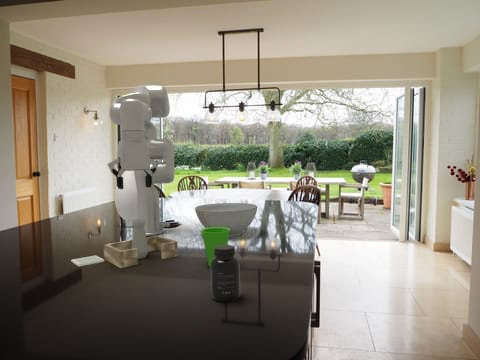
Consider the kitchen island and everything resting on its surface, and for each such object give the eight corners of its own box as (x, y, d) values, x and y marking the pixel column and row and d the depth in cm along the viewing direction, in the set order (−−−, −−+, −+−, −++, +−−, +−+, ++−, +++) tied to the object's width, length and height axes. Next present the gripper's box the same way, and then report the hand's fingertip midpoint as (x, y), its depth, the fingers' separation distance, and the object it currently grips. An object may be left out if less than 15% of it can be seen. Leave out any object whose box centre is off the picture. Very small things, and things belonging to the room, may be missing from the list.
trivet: (95, 257, 128) (95, 255, 128) (104, 261, 122) (104, 259, 122) (71, 261, 123) (71, 259, 123) (78, 266, 117) (78, 264, 117)
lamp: (139, 221, 200) (136, 156, 198) (154, 225, 188) (152, 155, 186) (110, 226, 189) (107, 156, 187) (124, 229, 178) (121, 155, 176)
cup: (235, 262, 118) (234, 227, 117) (224, 270, 109) (223, 233, 108) (209, 260, 121) (208, 226, 120) (196, 268, 112) (195, 231, 111)
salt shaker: (144, 259, 123) (142, 220, 122) (128, 259, 124) (126, 220, 124) (151, 255, 129) (150, 217, 128) (136, 254, 130) (134, 217, 129)
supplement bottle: (211, 292, 91) (209, 244, 91) (239, 291, 92) (238, 242, 91) (211, 303, 84) (210, 251, 84) (241, 301, 85) (240, 249, 84)
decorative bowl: (184, 239, 154) (183, 209, 153) (212, 227, 179) (212, 202, 178) (244, 243, 144) (243, 211, 143) (266, 230, 169) (265, 203, 168)
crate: (158, 249, 138) (158, 235, 137) (178, 256, 127) (177, 241, 126) (104, 259, 125) (103, 244, 125) (120, 268, 114) (119, 251, 114)
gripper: (152, 138, 134) (154, 186, 134) (103, 137, 123) (105, 189, 124) (161, 136, 128) (163, 187, 128) (110, 135, 117) (113, 190, 118)
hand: (134, 188), depth 126 cm, fingers open, 9 cm apart
